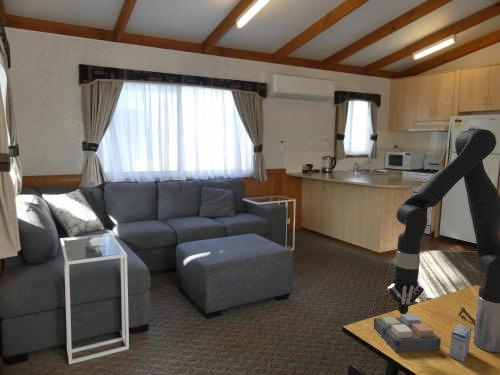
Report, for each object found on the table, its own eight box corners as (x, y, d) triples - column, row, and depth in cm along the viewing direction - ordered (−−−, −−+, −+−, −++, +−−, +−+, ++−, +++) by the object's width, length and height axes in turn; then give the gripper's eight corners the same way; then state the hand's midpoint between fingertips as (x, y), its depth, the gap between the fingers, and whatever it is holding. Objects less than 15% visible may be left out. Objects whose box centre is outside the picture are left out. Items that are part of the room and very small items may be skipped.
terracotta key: (424, 329, 136) (424, 323, 136) (432, 336, 132) (433, 330, 131) (411, 330, 136) (412, 323, 135) (419, 337, 131) (420, 330, 131)
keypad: (413, 326, 146) (414, 316, 146) (439, 349, 131) (440, 338, 130) (373, 328, 144) (374, 318, 144) (395, 352, 128) (396, 341, 128)
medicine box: (454, 347, 133) (456, 323, 132) (469, 351, 130) (471, 327, 129) (448, 356, 127) (451, 331, 126) (464, 362, 124) (466, 336, 123)
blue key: (412, 319, 144) (413, 313, 144) (419, 326, 139) (420, 319, 139) (400, 320, 143) (401, 314, 143) (407, 326, 138) (407, 320, 138)
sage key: (393, 322, 143) (393, 316, 143) (399, 329, 138) (400, 323, 138) (380, 323, 142) (381, 317, 142) (387, 329, 138) (387, 323, 137)
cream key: (404, 330, 135) (404, 324, 135) (411, 337, 131) (412, 331, 130) (391, 331, 135) (391, 324, 134) (398, 338, 130) (398, 331, 130)
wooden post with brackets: (458, 313, 157) (463, 305, 155) (473, 329, 151) (478, 321, 149) (455, 313, 157) (459, 305, 154) (470, 329, 150) (475, 321, 148)
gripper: (419, 260, 134) (414, 308, 136) (383, 260, 132) (379, 309, 135) (432, 267, 127) (427, 318, 129) (394, 268, 125) (389, 319, 127)
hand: (402, 313), depth 132 cm, fingers closed
